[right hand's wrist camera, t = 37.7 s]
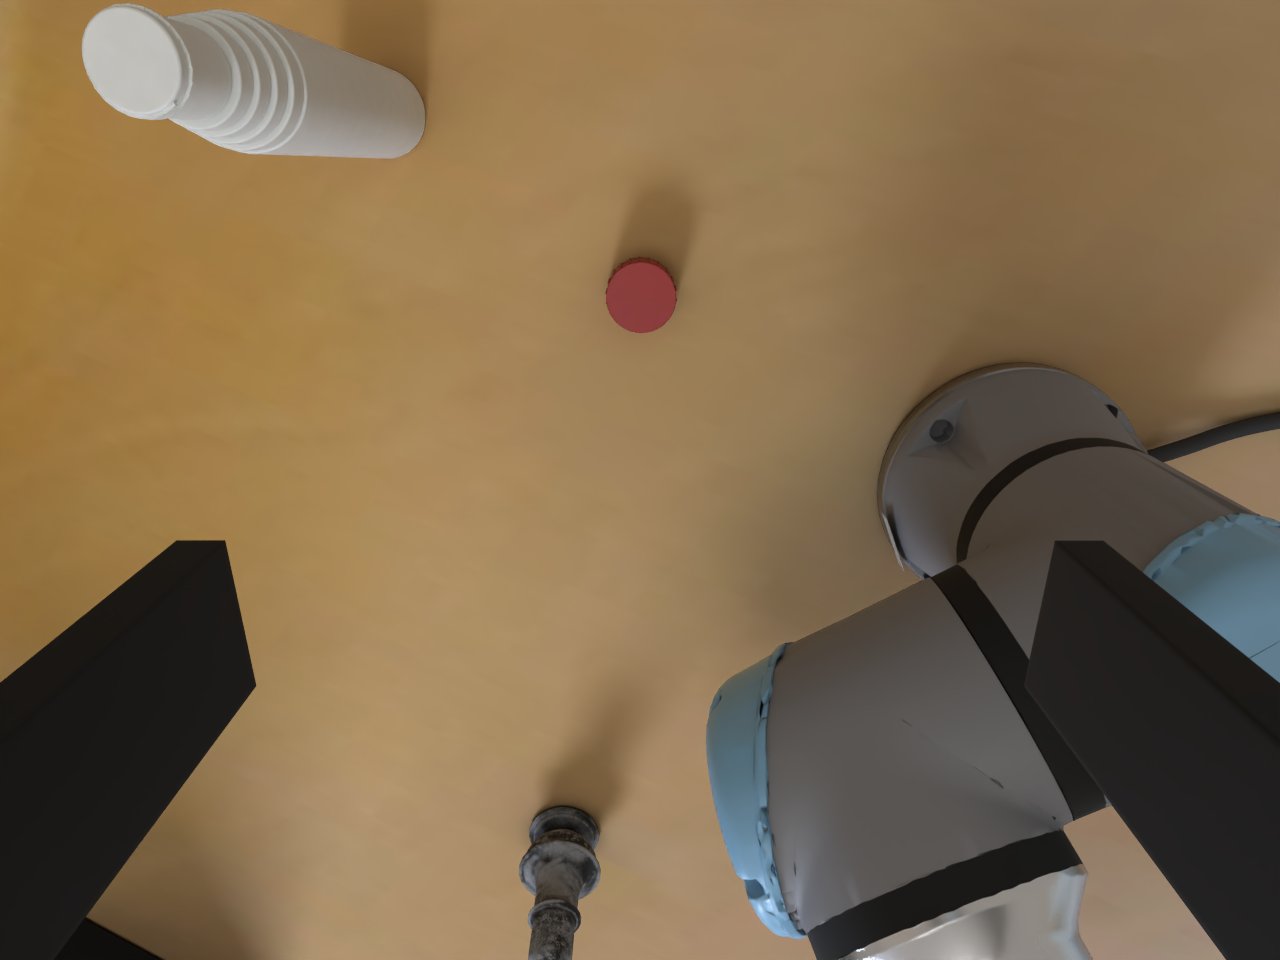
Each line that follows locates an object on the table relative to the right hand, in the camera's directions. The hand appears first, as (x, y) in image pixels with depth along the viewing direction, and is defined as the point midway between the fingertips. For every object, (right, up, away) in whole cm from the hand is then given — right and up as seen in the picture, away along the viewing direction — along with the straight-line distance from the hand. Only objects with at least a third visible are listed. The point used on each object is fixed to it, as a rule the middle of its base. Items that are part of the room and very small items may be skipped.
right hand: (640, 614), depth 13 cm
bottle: (-14, +22, +29) cm, 39 cm away
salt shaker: (-6, -25, +48) cm, 54 cm away
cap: (0, +12, +31) cm, 33 cm away
